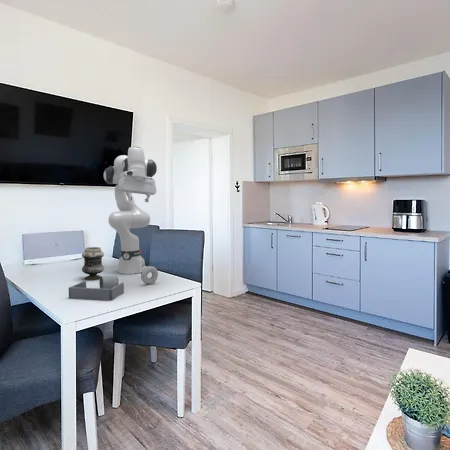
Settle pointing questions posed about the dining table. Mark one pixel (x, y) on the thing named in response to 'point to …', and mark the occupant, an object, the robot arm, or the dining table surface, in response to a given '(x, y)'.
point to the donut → (145, 273)
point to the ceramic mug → (108, 282)
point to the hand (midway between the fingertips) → (138, 201)
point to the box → (95, 292)
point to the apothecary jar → (92, 262)
